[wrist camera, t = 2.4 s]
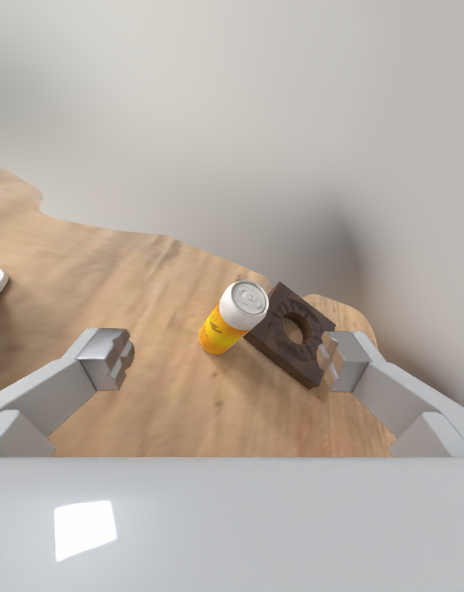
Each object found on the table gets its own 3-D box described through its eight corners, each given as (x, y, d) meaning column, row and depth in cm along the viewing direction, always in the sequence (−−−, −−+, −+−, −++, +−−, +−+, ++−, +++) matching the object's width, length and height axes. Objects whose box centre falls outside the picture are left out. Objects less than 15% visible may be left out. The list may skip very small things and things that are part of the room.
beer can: (207, 317, 40) (238, 269, 28) (234, 334, 40) (276, 293, 28) (191, 344, 36) (219, 301, 24) (221, 362, 36) (263, 328, 25)
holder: (241, 336, 40) (248, 330, 38) (272, 288, 50) (279, 281, 48) (308, 389, 40) (319, 386, 38) (326, 329, 50) (335, 324, 48)
